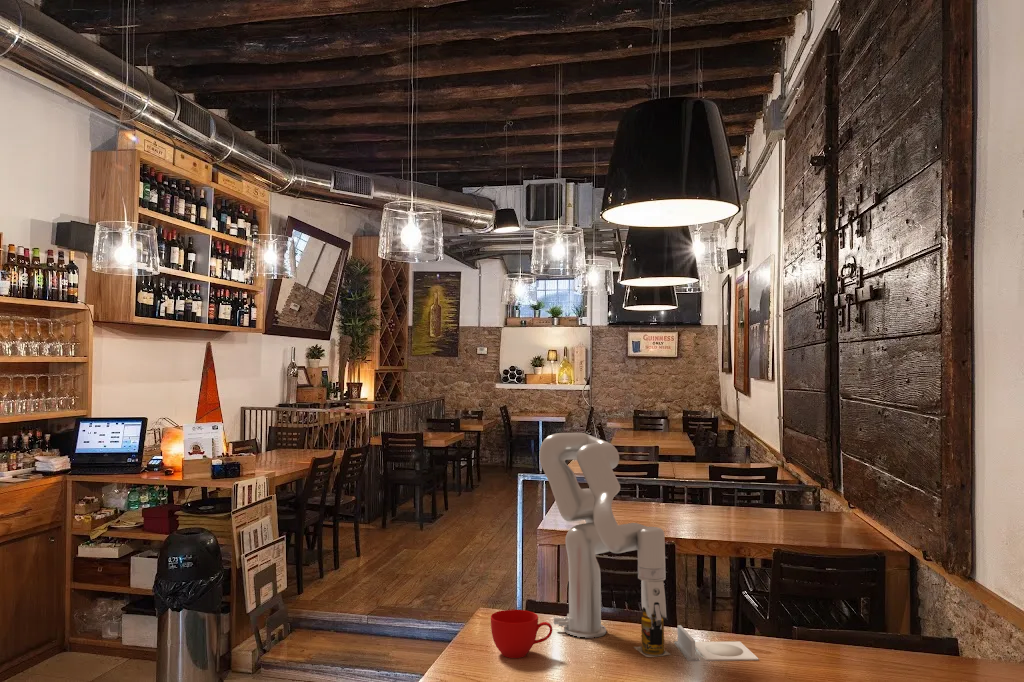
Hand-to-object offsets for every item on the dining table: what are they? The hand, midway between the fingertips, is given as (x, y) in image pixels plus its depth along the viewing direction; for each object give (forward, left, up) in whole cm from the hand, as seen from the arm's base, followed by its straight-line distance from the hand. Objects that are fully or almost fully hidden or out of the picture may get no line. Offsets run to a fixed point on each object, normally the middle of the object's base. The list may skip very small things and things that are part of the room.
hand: (653, 639), depth 195 cm
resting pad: (+20, 0, -3) cm, 20 cm away
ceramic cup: (-36, -1, -4) cm, 36 cm away
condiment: (0, +1, -4) cm, 4 cm away
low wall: (+9, 0, -3) cm, 10 cm away
